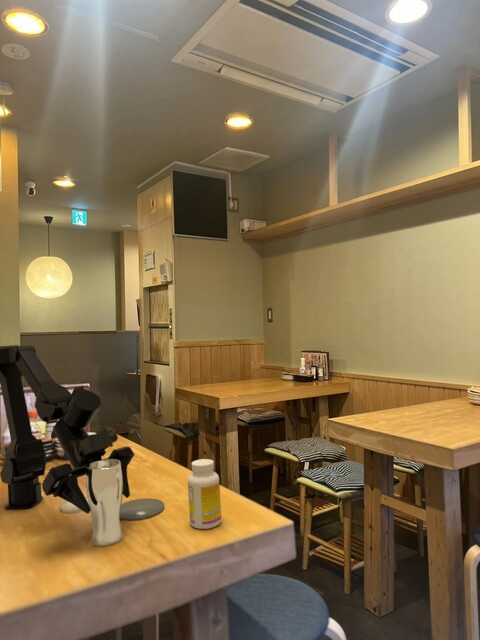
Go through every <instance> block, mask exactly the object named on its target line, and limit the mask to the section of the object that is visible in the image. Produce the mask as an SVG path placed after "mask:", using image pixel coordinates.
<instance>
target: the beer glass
mask: <svg viewBox="0 0 480 640" xmlns="http://www.w3.org/2000/svg"><path fill="white" fill-rule="evenodd" d="M103 459H104V460H103ZM103 459H102V460H98V461H94V462H91V463H89V464H88V465H87V474H86V475H85V476H86V478H85V479H86V481H85V483H86V497H88V503H89V507H90V509H91V511H90V516H91V521H92V530H91V531H92V532H91V539H90V542H91V544H92V545H94V546H97V547H98V546H99V547H107V546H111V545H115V544H117V543H119V542H120V541H122V539H123V538H124V533H123V529H122V524H121V519H120V511H121V504H123V503H122V501H123V479H122V470H121V462H120V461H119V460H116V459H106V458H103Z"/></svg>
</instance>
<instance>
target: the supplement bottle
mask: <svg viewBox="0 0 480 640" xmlns="http://www.w3.org/2000/svg"><path fill="white" fill-rule="evenodd" d="M214 462H215V461H214V460H212V459H209V458H201V459H197V460H194V461H192V462H191V470H192V473H191V474H189V476H188V477H187V494H188V511H189V523H190V525H191V526H192V527H193V528H195V529H199V530H206V529H212V528H215V527H217V526H219V525H220V523H221V522H222V507H221V491H220V487H221V486H220V477H219V475H218V473H217V472H215V471H214V468H215V463H214Z"/></svg>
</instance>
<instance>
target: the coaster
mask: <svg viewBox="0 0 480 640" xmlns="http://www.w3.org/2000/svg"><path fill="white" fill-rule="evenodd" d="M164 510H165V503H164V502H163V501H162V500H160V499H157V498H152V497H151V498H150V497H149V498H146V497H145V498H137V499H136V498H135V499H132V500H127V501H126V502H123V503H121V511H120V520H124V521H141V520H147V519H151V518H154V517H156V516H158V515H160V514H161V513H162V512H164Z"/></svg>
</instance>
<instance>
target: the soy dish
mask: <svg viewBox="0 0 480 640" xmlns="http://www.w3.org/2000/svg"><path fill="white" fill-rule="evenodd" d="M85 498H86V500H87V502H88V497H87V496H85ZM88 504H89V503H88ZM59 508H60V512H61V513H63V514H77V513H82V512H83V511H82V510H81V509H79V508H78V507H76V506H75V505H73V504H72V503H70V502H68V501H66V500H63V501H62V502H60V505H59Z"/></svg>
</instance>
